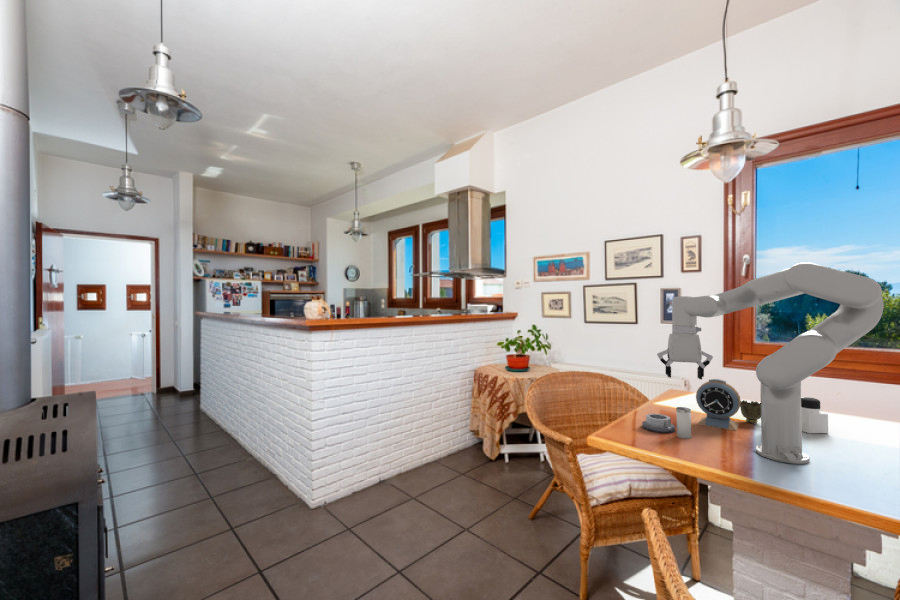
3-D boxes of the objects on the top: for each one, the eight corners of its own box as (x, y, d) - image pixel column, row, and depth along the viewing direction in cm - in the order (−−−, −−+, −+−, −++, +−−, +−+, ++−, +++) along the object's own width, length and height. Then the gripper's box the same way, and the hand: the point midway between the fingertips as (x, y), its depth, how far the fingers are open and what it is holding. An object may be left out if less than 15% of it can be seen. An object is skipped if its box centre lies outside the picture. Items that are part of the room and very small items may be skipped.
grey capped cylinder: (692, 439, 133) (692, 410, 133) (678, 438, 134) (677, 409, 134) (689, 435, 137) (688, 407, 137) (675, 433, 139) (674, 406, 139)
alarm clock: (694, 423, 150) (693, 379, 150) (699, 418, 157) (698, 375, 157) (739, 431, 140) (738, 383, 140) (742, 425, 147) (741, 379, 147)
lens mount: (678, 434, 138) (677, 422, 138) (644, 431, 141) (644, 419, 141) (671, 425, 148) (671, 413, 148) (640, 422, 152) (640, 411, 152)
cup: (762, 421, 151) (761, 401, 151) (765, 426, 145) (765, 405, 145) (738, 418, 155) (738, 399, 155) (741, 423, 149) (740, 403, 149)
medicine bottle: (828, 433, 136) (828, 400, 136) (808, 433, 136) (807, 400, 136) (810, 427, 143) (809, 395, 143) (791, 427, 143) (790, 395, 144)
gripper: (709, 330, 137) (709, 377, 137) (655, 329, 143) (655, 374, 143) (715, 332, 130) (715, 381, 130) (659, 330, 136) (659, 378, 136)
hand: (684, 377), depth 136 cm, fingers open, 9 cm apart
